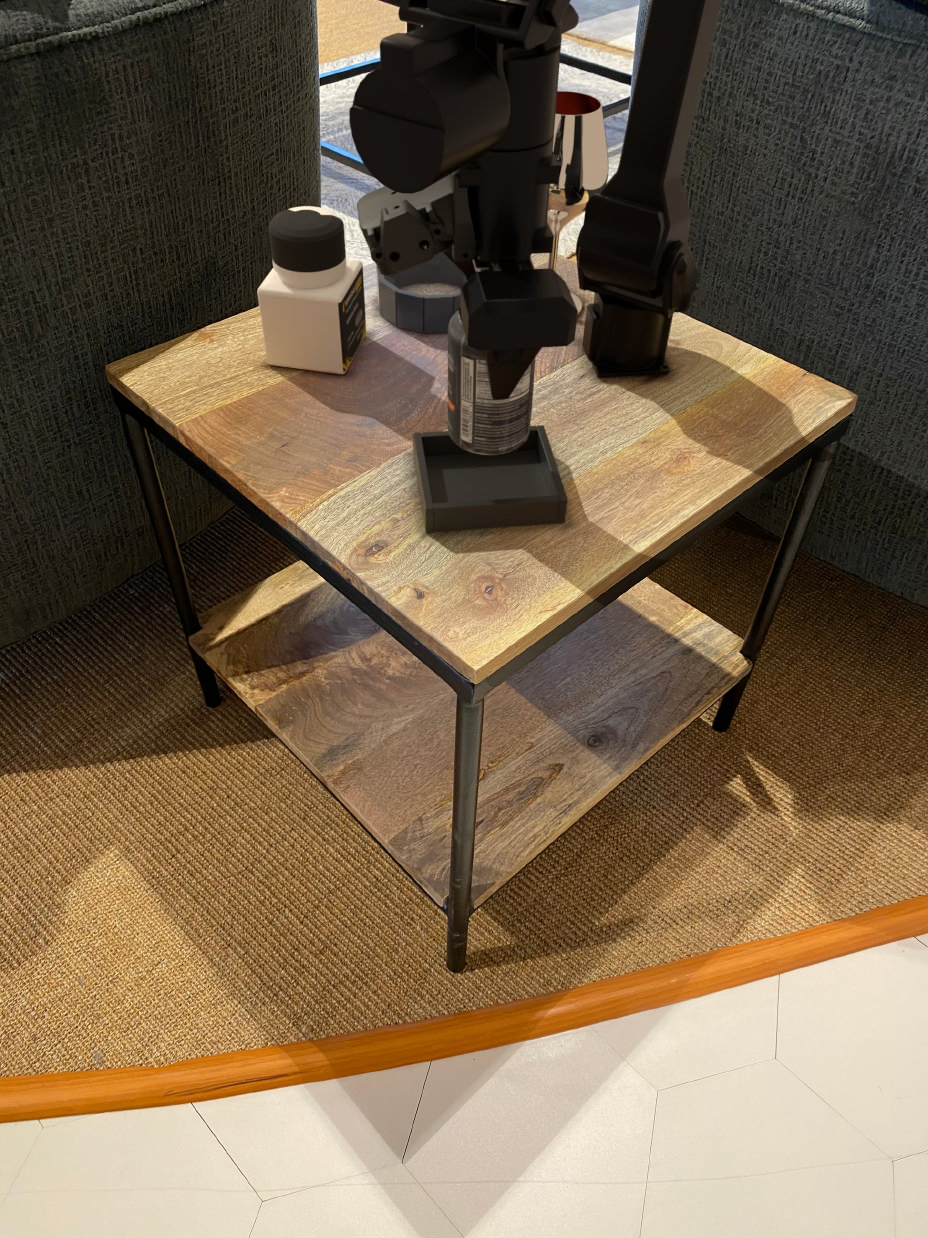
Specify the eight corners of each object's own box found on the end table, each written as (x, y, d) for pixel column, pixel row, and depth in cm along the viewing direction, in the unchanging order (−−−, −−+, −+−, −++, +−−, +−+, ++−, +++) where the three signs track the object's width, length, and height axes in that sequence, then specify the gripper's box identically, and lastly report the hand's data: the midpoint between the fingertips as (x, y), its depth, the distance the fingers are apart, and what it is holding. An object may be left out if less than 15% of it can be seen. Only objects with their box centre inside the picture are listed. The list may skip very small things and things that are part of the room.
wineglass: (487, 303, 94) (496, 100, 81) (545, 276, 98) (562, 79, 85) (551, 336, 90) (571, 128, 77) (608, 306, 94) (637, 104, 81)
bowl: (478, 277, 97) (479, 243, 95) (493, 330, 90) (495, 294, 88) (375, 281, 96) (373, 247, 94) (382, 335, 89) (381, 299, 87)
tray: (541, 448, 78) (543, 424, 76) (565, 523, 72) (568, 499, 70) (413, 455, 77) (412, 432, 75) (425, 533, 71) (425, 509, 69)
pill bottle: (462, 402, 73) (465, 257, 65) (539, 418, 72) (552, 272, 64) (435, 448, 69) (435, 299, 61) (516, 465, 68) (527, 316, 60)
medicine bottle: (345, 376, 85) (335, 240, 76) (266, 365, 85) (247, 230, 77) (367, 334, 89) (360, 202, 81) (292, 324, 90) (277, 193, 82)
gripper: (352, 79, 62) (365, 309, 73) (373, 208, 49) (385, 463, 60) (528, 75, 63) (514, 302, 74) (593, 199, 50) (564, 451, 61)
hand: (492, 372), depth 67 cm, fingers closed on pill bottle, 6 cm apart
